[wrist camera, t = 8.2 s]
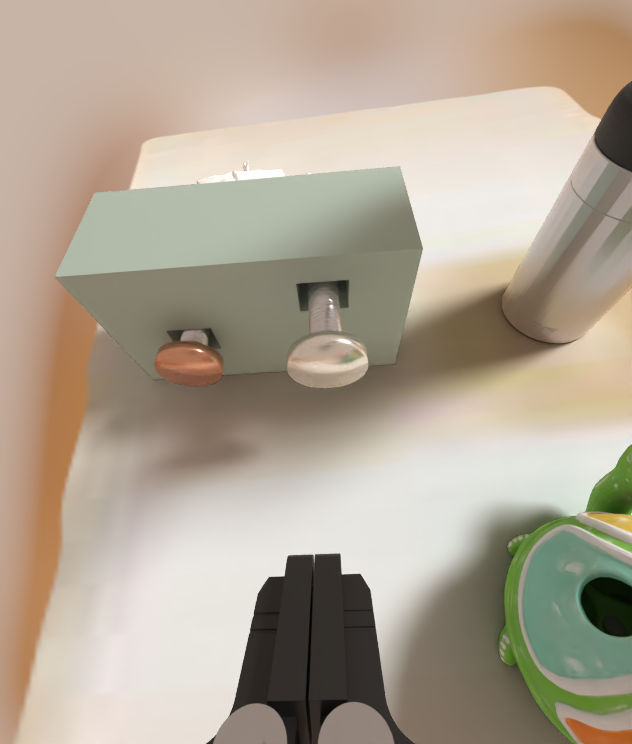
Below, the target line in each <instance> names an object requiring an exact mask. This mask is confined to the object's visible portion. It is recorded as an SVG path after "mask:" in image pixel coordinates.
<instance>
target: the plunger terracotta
mask: <svg viewBox="0 0 632 744" xmlns="http://www.w3.org/2000/svg"><path fill="white" fill-rule="evenodd" d="M209 334H210V328H201V329H187V330H182V334H181V339H180V341H174V342H169V343H166V344H164V345H163V346H161V347H160V348H159V349H158V352H157V355H156V360H155V364H154V367H155V370H156V372H157V373H158V374H159V375H160V376H161V377H163V378H164V379H166V380H168V381H171V382H173V383H176V384H180V385H185V386H207V385H211V384H214V383H216V382H218V381H219V380H220V379H221V378H222V375H223V366H224V359H223V357H222V356H221V354H220V353H219V352H217V351H216V350H215V349H213V348H211V347H209V346H208V341H209Z"/></svg>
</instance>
